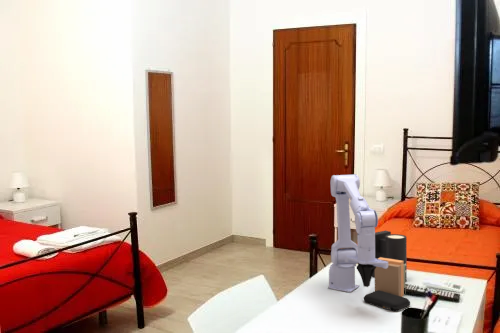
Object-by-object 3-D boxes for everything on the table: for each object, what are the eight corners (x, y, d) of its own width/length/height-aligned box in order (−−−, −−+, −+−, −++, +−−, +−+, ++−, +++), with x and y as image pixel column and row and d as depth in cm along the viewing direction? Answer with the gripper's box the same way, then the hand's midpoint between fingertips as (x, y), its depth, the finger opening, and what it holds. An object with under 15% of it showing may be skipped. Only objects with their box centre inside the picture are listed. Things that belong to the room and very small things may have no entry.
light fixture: (395, 285, 200) (394, 240, 198) (369, 276, 211) (369, 233, 210) (412, 280, 205) (412, 236, 203) (386, 272, 216) (386, 230, 215)
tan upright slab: (398, 299, 184) (398, 264, 183) (374, 294, 190) (374, 260, 189) (406, 293, 191) (406, 258, 189) (383, 288, 196) (383, 255, 195)
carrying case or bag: (359, 303, 183) (394, 315, 172) (359, 295, 183) (394, 306, 171) (377, 296, 190) (412, 306, 178) (377, 288, 189) (412, 298, 178)
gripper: (341, 246, 173) (341, 285, 174) (382, 251, 164) (382, 293, 165) (350, 241, 178) (350, 279, 180) (390, 247, 170) (390, 287, 171)
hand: (366, 285), depth 173 cm, fingers closed
